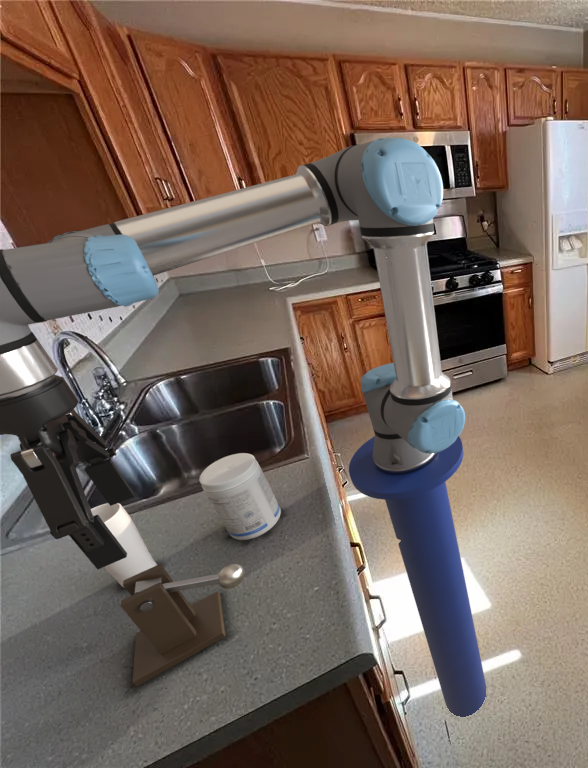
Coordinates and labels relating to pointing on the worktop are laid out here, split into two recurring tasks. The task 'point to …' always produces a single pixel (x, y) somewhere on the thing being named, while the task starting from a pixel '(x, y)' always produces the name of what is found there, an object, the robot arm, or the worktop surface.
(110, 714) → the worktop surface
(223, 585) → the tap lever
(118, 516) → the white tapered cylinder
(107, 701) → the worktop surface
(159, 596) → the bracket
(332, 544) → the worktop surface
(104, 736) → the worktop surface
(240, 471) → the supplement tub
